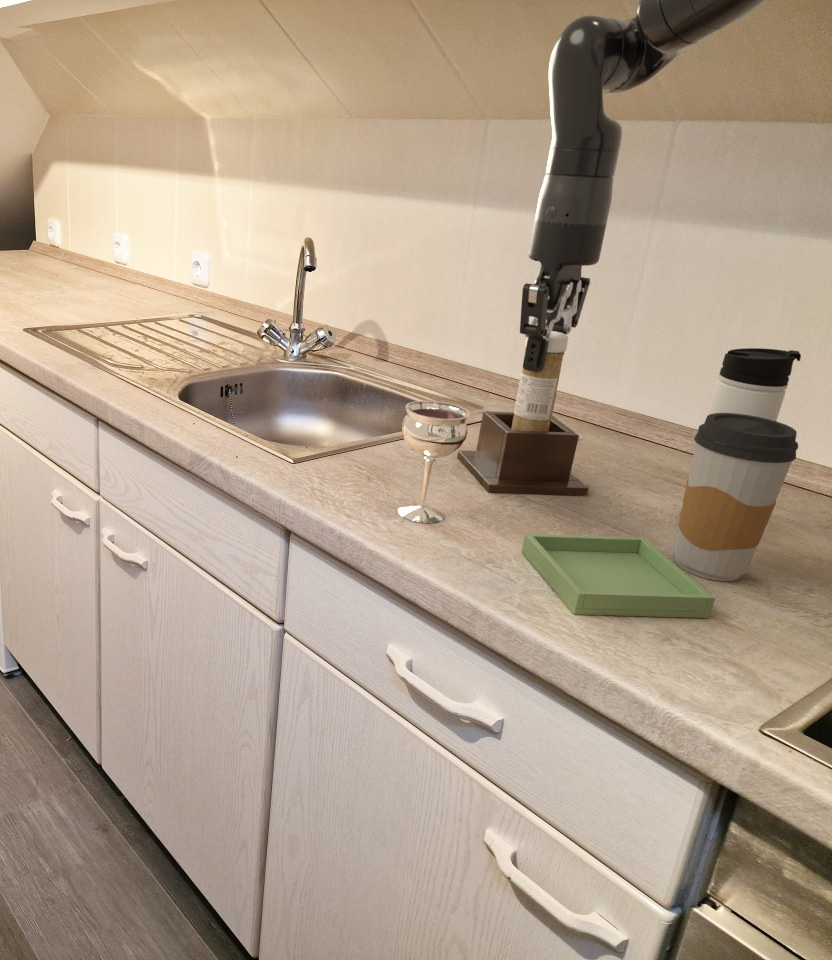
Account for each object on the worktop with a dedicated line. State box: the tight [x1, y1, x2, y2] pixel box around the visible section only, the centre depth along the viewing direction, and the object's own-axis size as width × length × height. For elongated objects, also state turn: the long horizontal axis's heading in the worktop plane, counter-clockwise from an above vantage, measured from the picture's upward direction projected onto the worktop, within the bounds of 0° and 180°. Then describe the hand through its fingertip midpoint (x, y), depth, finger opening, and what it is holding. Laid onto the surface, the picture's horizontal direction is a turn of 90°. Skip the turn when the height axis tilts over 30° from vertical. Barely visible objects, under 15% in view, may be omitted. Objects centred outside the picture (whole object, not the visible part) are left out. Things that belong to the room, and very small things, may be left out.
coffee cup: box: [673, 413, 799, 582], centre depth 82 cm, size 8×8×15 cm
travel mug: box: [678, 347, 802, 517], centre depth 92 cm, size 6×7×20 cm
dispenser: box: [456, 410, 589, 497], centre depth 106 cm, size 12×12×7 cm
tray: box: [521, 533, 716, 619], centre depth 81 cm, size 12×12×2 cm
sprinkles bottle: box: [511, 331, 569, 432], centre depth 103 cm, size 5×5×13 cm
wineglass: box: [397, 400, 471, 524], centre depth 92 cm, size 7×7×12 cm
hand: (541, 366), depth 102 cm, fingers closed on sprinkles bottle, 4 cm apart
